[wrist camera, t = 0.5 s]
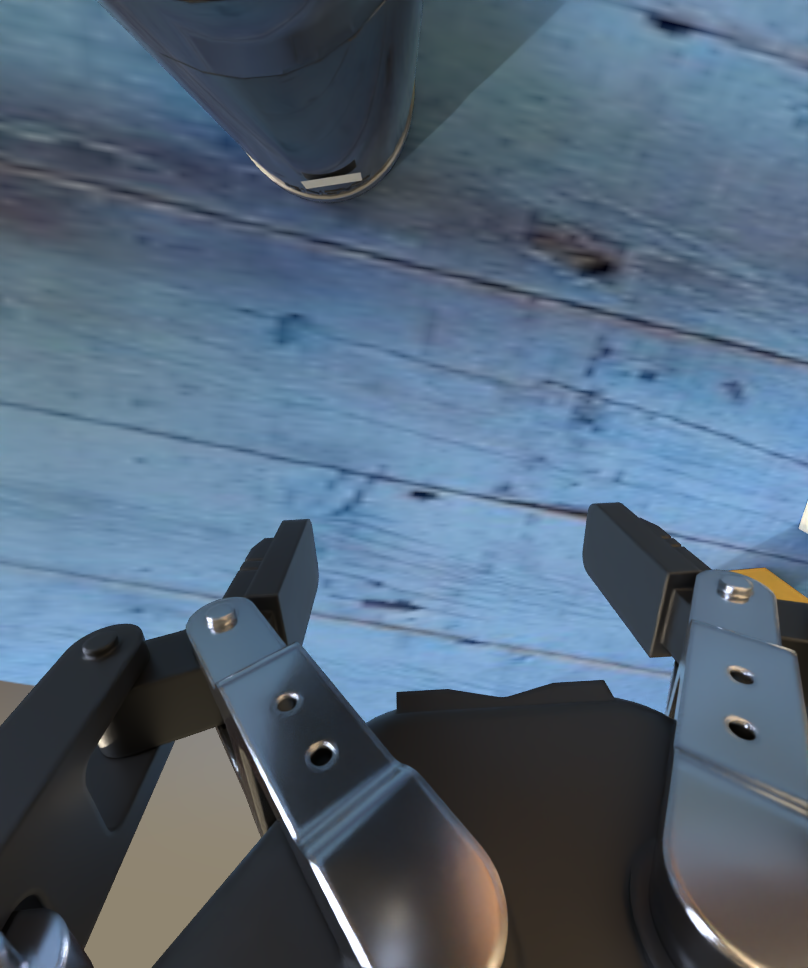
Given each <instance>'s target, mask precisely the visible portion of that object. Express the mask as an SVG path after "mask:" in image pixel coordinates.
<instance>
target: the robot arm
mask: <svg viewBox="0 0 808 968" xmlns="http://www.w3.org/2000/svg"><path fill="white" fill-rule="evenodd" d="M96 1H97V2H98V3H99V4H100V5H101V6H102V7H103V8H104V9H105V10H106V11H107V12H108V13H109V14H110V15H111V16H112V17H113V18H114V19H115V20H116V21H117V22H118V23H119V24H120V25H122V26H123V27H124V28H125V29H126V30H127V31H128V32H129V33H130V34H131V35H132V36H133V37H134V38H135V40H136V41H137V42H138V43H139V44H140V45H141V46H142V47H143V48H144V49H145V50H146V51H147V52H148V53H149V54H150V55H151V56H152V57H153V58H154V59H155V60H156V61H157V62H158V63H159V64H160V65H161V66H162V67H163V68H164V69H165V70H166V71H167V72H168V73H169V74H170V75H171V76H172V77H173V78H174V79H175V80H176V81H177V82H178V83H179V84H180V85H181V86H182V87H183V88H184V89H185V90H186V91H187V92H188V94H189V95H190V96H191V97H192V98H193V99H194V100H195V101H196V102H197V103H198V104H199V105H200V106H201V107H202V108H203V109H204V110H205V111H206V112H207V113H208V114H209V115H210V116H211V117H212V118H213V119H214V120H215V121H216V122H217V123H218V124H219V125H220V126H221V127H222V128H223V129H224V130H225V131H226V132H227V133H228V134H229V135H230V136H231V137H232V138H233V139H234V140H235V141H236V142H237V143H238V144H239V145H240V147H241V148H242V149H243V150H244V151H245V152H246V153H247V154H248V156H249V157H250V158H251V160H252V161H253V162H254V163H255V164H256V166H257V167H258V168H259V169H260V170H261V171H262V172H263V173H264V174H265V175H266V176H267V177H268V178H270V179H271V180H272V181H273V182H274V183H276V184H277V185H278V186H280V187H281V188H283V189H284V190H286V191H288V192H290V193H291V194H293V195H296V196H298V197H300V198H304V199H307V200H311V201H316V202H325V203H326V202H339V201H344V200H348V199H351V198H354V197H356V196H359V195H361V194H363V193H364V192H366V191H368V190H369V189H371V188H372V187H373V186H375V185H376V184H377V183H378V182H379V181H380V180H381V179H382V178H383V177H384V176H385V175H386V174H387V173H388V171H389V170H390V169H391V168H392V166H393V165H394V163H395V162H396V160H397V158H398V156H399V155H400V153H401V151H402V149H403V146H404V144H405V141H406V138H407V135H408V132H409V129H410V124H411V120H412V113H413V106H414V96H415V73H416V64H417V55H418V46H419V37H420V28H421V19H422V9H423V0H96ZM583 563H584V567H585V570H586V572H587V573H588V575H589V576H590V578H591V579H592V580H593V582H594V583H595V584H596V586H597V587H598V588H599V590H600V591H601V592H602V594H603V595H604V596H605V598H606V599H607V600H608V602H609V603H610V605H611V606H612V607H613V609H614V610H615V611H616V613H617V614H618V615H619V617H620V618H621V619H622V621H623V622H624V623H625V625H626V626H627V627H628V629H629V630H630V631H631V633H632V634H633V636H634V637H635V638H636V640H637V641H638V642H639V644H640V645H641V646H642V648H643V649H644V650H645V652H646V653H647V654H648V656H649V657H650V658H652V657H670V656H672V657H673V658H674V659H675V662H674V666H673V670H672V675H671V681H670V686H669V692H668V697H667V703H666V709H665V714H663V713H661V712H658V711H656V710H654V709H651V708H649V707H647V706H644V705H641V704H638V703H635V702H632V701H628V700H624V699H620V698H614V697H613V695H612V693H611V692H610V690H609V688H608V686H607V685H606V683H605V681H604V680H594V681H577V682H560V683H551V684H548V685H545V686H541V687H538V688H535V689H532V690H528V691H525V692H522V693H518V694H515V695H512V696H508V697H494V696H488V695H482V694H475V693H469V692H463V691H456V690H450V689H441V690H424V691H407V692H397V709H396V710H393V711H390V712H387V713H385V714H382V715H380V716H378V717H375V718H374V719H372V720H370V721H369V722H367V723H365V722H364V721H363V719H362V718H361V717H360V716H359V715H358V713H357V712H356V711H355V710H354V708H353V707H352V706H351V705H350V704H349V702H348V701H347V700H346V699H345V698H344V696H343V695H342V694H341V693H340V692H339V690H338V689H337V688H336V687H335V685H334V684H333V683H332V682H331V681H330V679H329V678H328V677H327V676H326V675H325V673H324V672H323V671H322V670H321V668H320V667H319V666H318V665H317V664H316V662H315V661H314V660H313V659H312V658H311V656H310V655H309V654H308V653H307V651H306V650H305V649H304V648H303V647H302V644H303V641H304V637H305V633H306V629H307V625H308V622H309V618H310V614H311V610H312V607H313V603H314V599H315V595H316V592H317V588H318V578H319V573H318V562H317V556H316V549H315V542H314V535H313V528H312V524H311V521H310V519H300V520H284V521H282V523H281V525H280V527H279V529H278V531H277V533H276V535H275V536H274V538H264V539H263V540H262V541H261V542H259V543H258V544H257V545H255V546H254V547H253V548H252V549H251V550H250V552H249V554H248V556H247V557H246V559H245V562H243V564H242V566H241V567H240V571H238V573H237V574H236V576H235V578H234V579H233V581H232V583H231V585H230V586H229V588H228V590H227V591H226V593H225V595H224V597H223V598H222V599H219V600H216V601H213V602H211V603H209V604H207V605H205V606H203V607H202V608H200V609H199V610H197V611H196V612H195V613H194V614H193V615H192V616H191V617H190V618H189V620H188V622H187V624H186V629H185V630H182V631H179V632H176V633H172V634H168V635H164V636H161V637H157V638H153V639H149V640H146V641H145V638H144V635H143V633H142V630H141V629H140V628H139V627H138V626H136V625H133V624H117V625H112V626H108V627H105V628H102V629H99V630H97V631H94V632H92V633H90V634H88V635H86V636H85V637H83V638H81V639H80V640H78V641H77V642H75V643H74V644H73V645H72V646H71V647H69V648H68V649H67V650H66V651H65V653H64V654H63V655H62V656H61V657H60V658H59V659H58V661H57V662H56V663H55V664H54V665H53V666H52V668H51V669H50V670H49V671H48V672H47V673H46V674H45V676H44V677H43V678H42V679H41V680H40V681H39V682H38V684H37V685H36V686H35V687H34V688H33V689H32V690H31V692H30V693H29V694H28V695H27V696H26V697H25V698H24V700H23V701H22V702H21V703H20V704H19V706H18V707H17V708H16V709H15V710H14V711H13V712H12V713H11V715H10V716H9V717H8V718H7V719H6V720H5V721H4V723H3V724H2V725H1V726H0V968H94V967H93V965H92V962H91V960H90V959H89V957H88V956H87V954H86V953H85V951H84V948H85V946H86V944H87V941H88V939H89V937H90V934H91V932H92V930H93V928H94V925H95V923H96V921H97V918H98V916H99V914H100V911H101V909H102V907H103V905H104V902H105V900H106V898H107V895H108V893H109V891H110V889H111V886H112V884H113V882H114V880H115V877H116V875H117V873H118V870H119V868H120V866H121V864H122V861H123V859H124V857H125V854H126V852H127V850H128V848H129V845H130V843H131V841H132V838H133V836H134V834H135V831H136V829H137V827H138V825H139V822H140V820H141V818H142V815H143V813H144V811H145V809H146V806H147V804H148V802H149V799H150V797H151V795H152V793H153V790H154V788H155V786H156V783H157V781H158V779H159V776H160V774H161V772H162V770H163V767H164V765H165V763H166V760H167V758H168V756H169V754H170V751H171V749H172V747H173V744H174V742H175V740H178V739H181V738H184V737H187V736H190V735H193V734H196V733H199V732H202V731H205V730H207V729H210V728H214V727H216V730H217V732H218V734H219V737H220V739H221V741H222V743H223V746H224V748H225V750H226V753H227V755H228V757H229V759H230V762H231V764H232V766H233V768H234V771H235V773H236V775H237V777H238V780H239V782H240V784H241V787H242V789H243V791H244V794H245V796H246V798H247V801H248V804H249V807H250V809H251V812H252V815H253V818H254V820H255V823H256V825H257V828H258V831H259V833H260V836H261V839H260V840H259V842H258V843H257V844H256V845H255V846H254V847H253V848H252V850H251V851H250V852H249V853H248V854H247V856H246V857H245V858H244V859H243V860H242V861H241V863H240V864H239V865H238V866H237V867H236V869H235V870H234V871H233V872H232V873H231V875H230V876H229V877H228V878H227V879H226V880H225V882H224V883H223V884H222V885H221V886H220V888H219V889H218V890H217V891H216V892H215V893H214V895H213V896H212V897H211V898H210V899H209V900H208V902H207V903H206V904H205V905H204V906H203V908H202V909H201V910H200V911H199V912H198V913H197V915H196V916H195V917H194V918H193V919H192V921H191V922H190V923H189V924H188V926H186V928H185V929H184V930H183V931H182V932H181V933H180V935H179V936H178V937H177V938H176V939H175V941H174V942H173V943H172V944H171V945H170V946H169V948H168V949H167V950H166V951H165V952H164V954H163V955H162V956H161V957H160V958H159V960H158V961H157V962H156V963H155V964H154V965H153V967H152V968H808V603H803V602H795V601H788V600H780V599H776V596H775V594H774V593H773V592H772V591H771V590H770V589H769V588H768V587H767V586H766V585H764V584H762V583H761V582H759V581H757V580H755V579H753V578H751V577H748V576H745V575H743V574H739V573H736V572H731V571H725V570H712V569H710V568H709V567H708V566H707V565H706V564H704V563H703V562H702V561H701V560H699V559H698V558H697V557H696V556H695V555H693V554H692V553H691V552H690V551H688V550H687V549H686V548H685V547H681V544H680V543H679V542H677V541H676V540H675V539H674V538H671V536H670V535H669V534H667V533H666V532H665V531H664V530H663V529H661V528H660V527H659V526H657V525H655V524H653V523H650V522H648V521H646V520H644V519H642V518H638V517H637V516H636V515H635V514H634V513H632V512H631V511H630V510H629V509H628V508H627V507H625V506H624V505H623V504H622V503H620V502H616V503H598V504H591V505H590V507H589V509H588V513H587V521H586V529H585V536H584V544H583Z"/></svg>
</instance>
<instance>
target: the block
mask: <svg viewBox="0 0 808 968" xmlns="http://www.w3.org/2000/svg"><path fill="white" fill-rule="evenodd" d="M730 571H731V572H736V573H739V574H743V575H745V576H748V577H751V578H753V579H755V580H757V581H759V582H761V583H762V584H764V585H766V586H767V587H768V588H769V589H770V590H771V591H772V592H773V593H774V594H775V596H776V599H780V600H788V601H795V602H803V603H808V598H806V597H805V596H804V595H802V594H801V593H799V592H798V591H797V590H795V589H794V588H793V587H791V586H790V585H788V584H787V583H786V582H784V581H783V580H781V579H780V578H779V577H777V576H776V575H774V574H773V573H772V572H770V571H769V570H768V569H766V568H754V569H742V570H730Z"/></svg>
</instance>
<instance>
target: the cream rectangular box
mask: <svg viewBox="0 0 808 968" xmlns="http://www.w3.org/2000/svg"><path fill="white" fill-rule="evenodd" d="M799 529H800V530H802V531H804V532H806V533H807V534H808V501H807V504H806V507H805V510H804V513H803V516H802V519H801V522H800V525H799Z"/></svg>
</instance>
